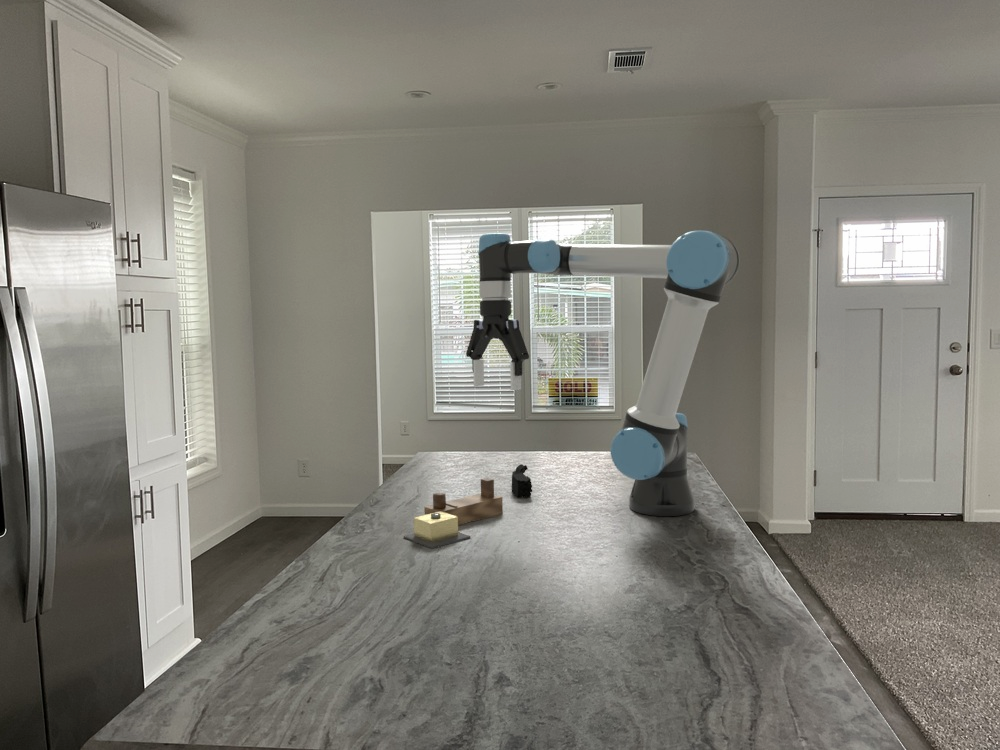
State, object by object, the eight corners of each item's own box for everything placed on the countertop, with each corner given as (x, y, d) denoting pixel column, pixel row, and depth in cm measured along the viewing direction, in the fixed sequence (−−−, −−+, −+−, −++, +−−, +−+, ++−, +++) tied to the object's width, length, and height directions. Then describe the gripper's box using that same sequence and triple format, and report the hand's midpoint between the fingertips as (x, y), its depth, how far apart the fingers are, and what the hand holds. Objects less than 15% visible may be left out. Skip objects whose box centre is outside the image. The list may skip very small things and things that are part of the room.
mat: (470, 538, 155) (470, 536, 155) (431, 548, 149) (431, 546, 149) (441, 527, 163) (441, 526, 163) (403, 537, 156) (403, 535, 156)
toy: (532, 499, 186) (532, 473, 186) (512, 499, 186) (512, 473, 185) (528, 485, 201) (527, 461, 201) (509, 486, 201) (509, 461, 201)
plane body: (486, 508, 178) (485, 475, 177) (502, 513, 173) (502, 480, 172) (424, 524, 166) (423, 489, 165) (440, 529, 161) (440, 493, 161)
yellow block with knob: (441, 529, 160) (440, 508, 160) (458, 535, 156) (457, 514, 155) (414, 536, 156) (413, 514, 155) (431, 542, 151) (430, 520, 151)
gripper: (543, 298, 170) (544, 390, 172) (474, 300, 189) (476, 383, 191) (519, 298, 165) (520, 392, 167) (451, 300, 184) (453, 385, 186)
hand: (496, 387), depth 179 cm, fingers open, 13 cm apart
